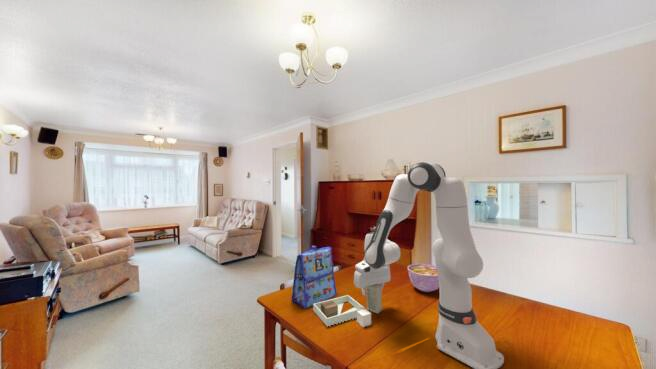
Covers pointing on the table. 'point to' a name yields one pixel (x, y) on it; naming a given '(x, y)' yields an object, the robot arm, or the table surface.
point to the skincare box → (374, 298)
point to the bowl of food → (424, 277)
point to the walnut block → (329, 308)
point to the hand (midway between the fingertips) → (372, 293)
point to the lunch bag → (314, 277)
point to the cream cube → (364, 317)
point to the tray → (341, 317)
